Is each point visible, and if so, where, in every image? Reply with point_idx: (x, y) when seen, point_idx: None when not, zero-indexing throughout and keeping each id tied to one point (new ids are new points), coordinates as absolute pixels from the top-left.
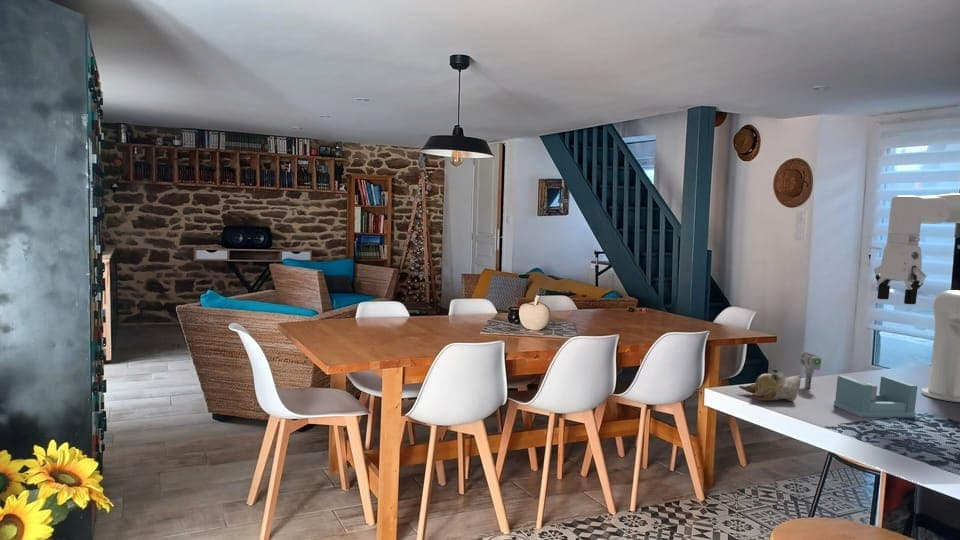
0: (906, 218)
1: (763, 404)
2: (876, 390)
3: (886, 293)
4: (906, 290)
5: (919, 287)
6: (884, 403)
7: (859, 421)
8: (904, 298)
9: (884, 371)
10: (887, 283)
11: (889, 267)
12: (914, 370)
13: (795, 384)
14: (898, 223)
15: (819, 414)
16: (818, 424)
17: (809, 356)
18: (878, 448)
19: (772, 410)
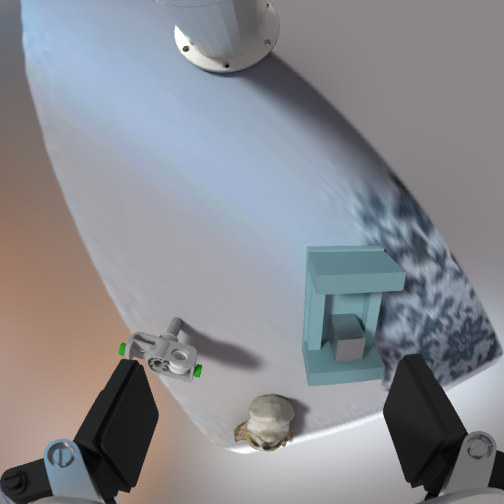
0: None
1: (292, 430)
2: (363, 333)
3: (134, 410)
4: (418, 479)
5: (494, 446)
6: (377, 318)
7: (383, 358)
8: (391, 435)
9: (30, 47)
10: (96, 474)
11: None
12: None
13: (289, 421)
14: None
15: (344, 392)
16: (379, 408)
17: (177, 378)
18: (452, 384)
19: (319, 430)
